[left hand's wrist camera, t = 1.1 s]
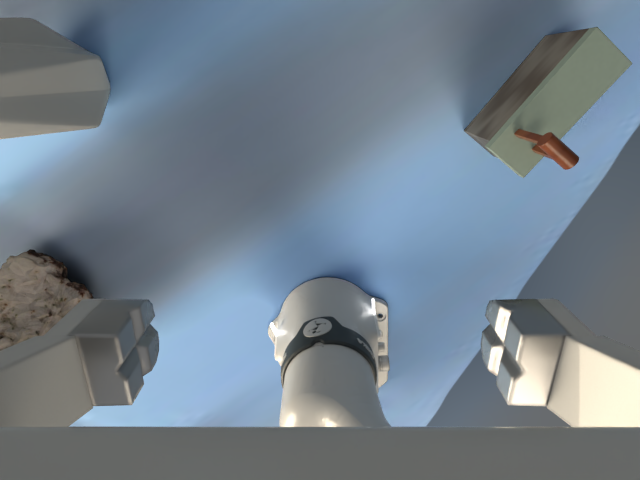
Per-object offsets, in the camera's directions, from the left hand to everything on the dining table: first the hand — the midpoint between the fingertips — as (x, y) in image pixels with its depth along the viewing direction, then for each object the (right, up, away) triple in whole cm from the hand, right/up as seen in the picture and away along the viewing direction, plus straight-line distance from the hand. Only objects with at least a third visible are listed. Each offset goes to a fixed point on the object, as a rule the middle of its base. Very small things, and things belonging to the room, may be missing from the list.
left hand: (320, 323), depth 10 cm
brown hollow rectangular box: (+25, +20, +42) cm, 53 cm away
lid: (+25, +16, +34) cm, 45 cm away
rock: (-39, -7, +52) cm, 66 cm away
